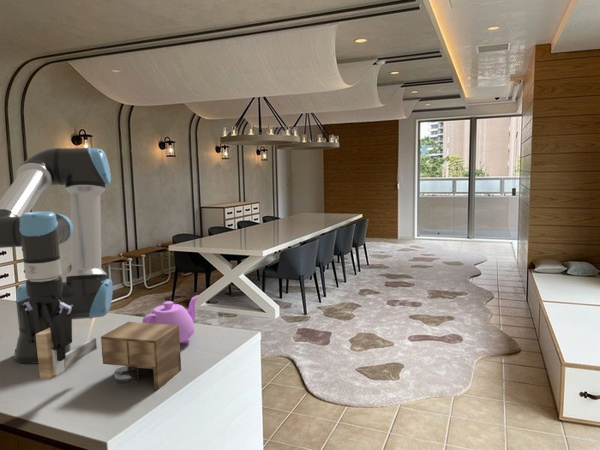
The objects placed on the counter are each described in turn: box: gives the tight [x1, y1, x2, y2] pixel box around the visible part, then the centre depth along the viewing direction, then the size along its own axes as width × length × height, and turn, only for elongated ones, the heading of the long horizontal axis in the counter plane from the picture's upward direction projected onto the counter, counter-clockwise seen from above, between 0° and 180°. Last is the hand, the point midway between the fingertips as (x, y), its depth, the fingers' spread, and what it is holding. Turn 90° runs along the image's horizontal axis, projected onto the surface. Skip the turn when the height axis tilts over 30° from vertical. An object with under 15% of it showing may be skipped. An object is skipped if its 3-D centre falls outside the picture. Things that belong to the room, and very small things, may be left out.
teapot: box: [141, 294, 199, 345], centre depth 152 cm, size 22×16×14 cm
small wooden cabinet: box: [100, 321, 182, 391], centre depth 127 cm, size 16×12×13 cm
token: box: [113, 366, 139, 385], centre depth 127 cm, size 6×6×2 cm
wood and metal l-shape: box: [36, 328, 98, 381], centre depth 119 cm, size 18×3×11 cm, turn 166°
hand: (52, 371), depth 113 cm, fingers closed on wood and metal l-shape, 3 cm apart
